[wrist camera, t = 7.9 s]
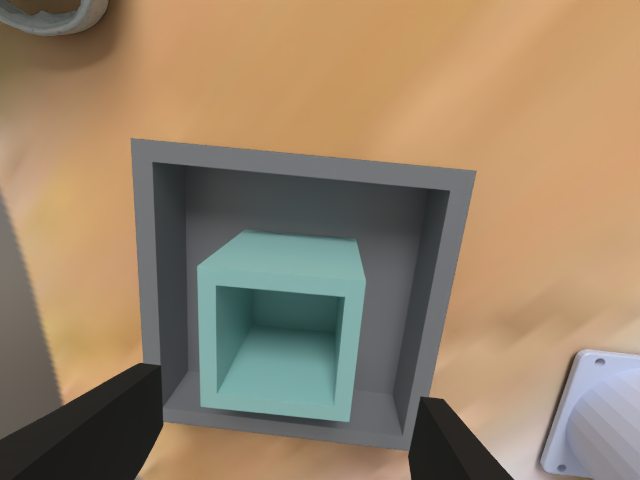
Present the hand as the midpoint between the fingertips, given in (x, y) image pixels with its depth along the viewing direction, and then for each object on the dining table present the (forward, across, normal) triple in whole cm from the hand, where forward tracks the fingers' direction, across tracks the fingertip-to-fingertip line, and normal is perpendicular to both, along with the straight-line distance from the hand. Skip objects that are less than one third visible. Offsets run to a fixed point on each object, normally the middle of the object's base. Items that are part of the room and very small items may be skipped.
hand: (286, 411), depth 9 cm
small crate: (+8, +1, 0) cm, 8 cm away
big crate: (+8, +1, 0) cm, 8 cm away
